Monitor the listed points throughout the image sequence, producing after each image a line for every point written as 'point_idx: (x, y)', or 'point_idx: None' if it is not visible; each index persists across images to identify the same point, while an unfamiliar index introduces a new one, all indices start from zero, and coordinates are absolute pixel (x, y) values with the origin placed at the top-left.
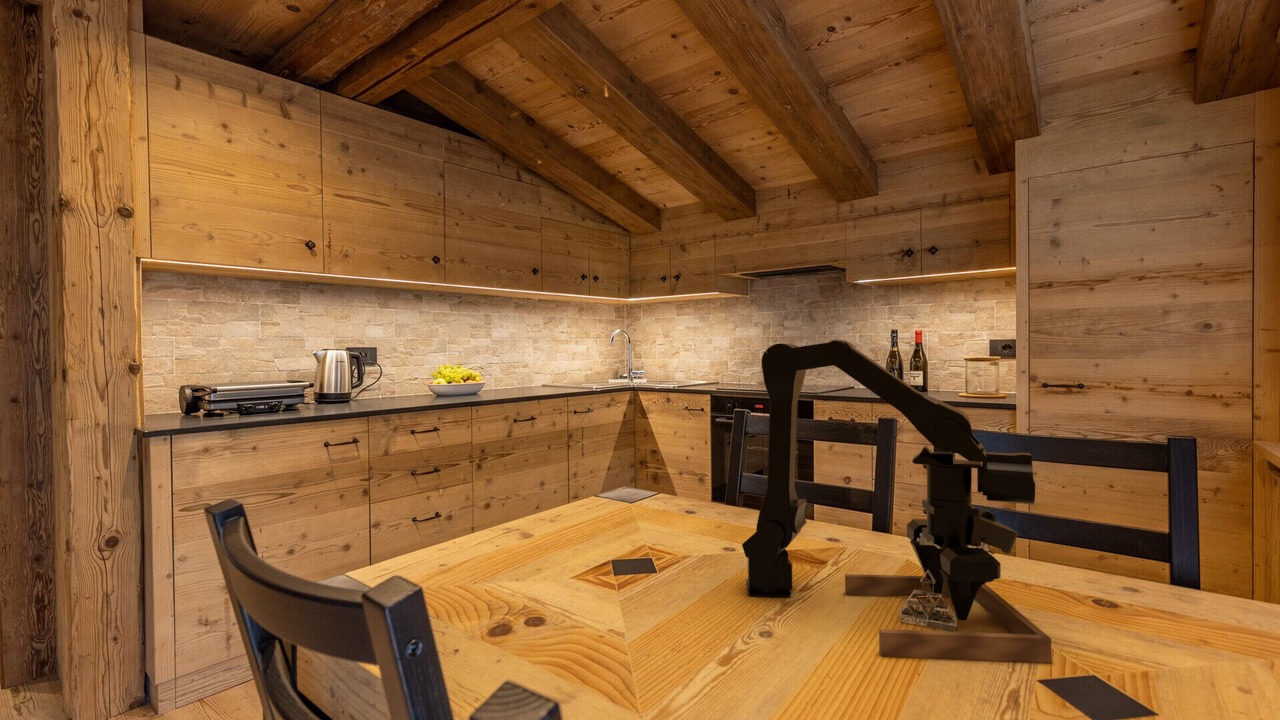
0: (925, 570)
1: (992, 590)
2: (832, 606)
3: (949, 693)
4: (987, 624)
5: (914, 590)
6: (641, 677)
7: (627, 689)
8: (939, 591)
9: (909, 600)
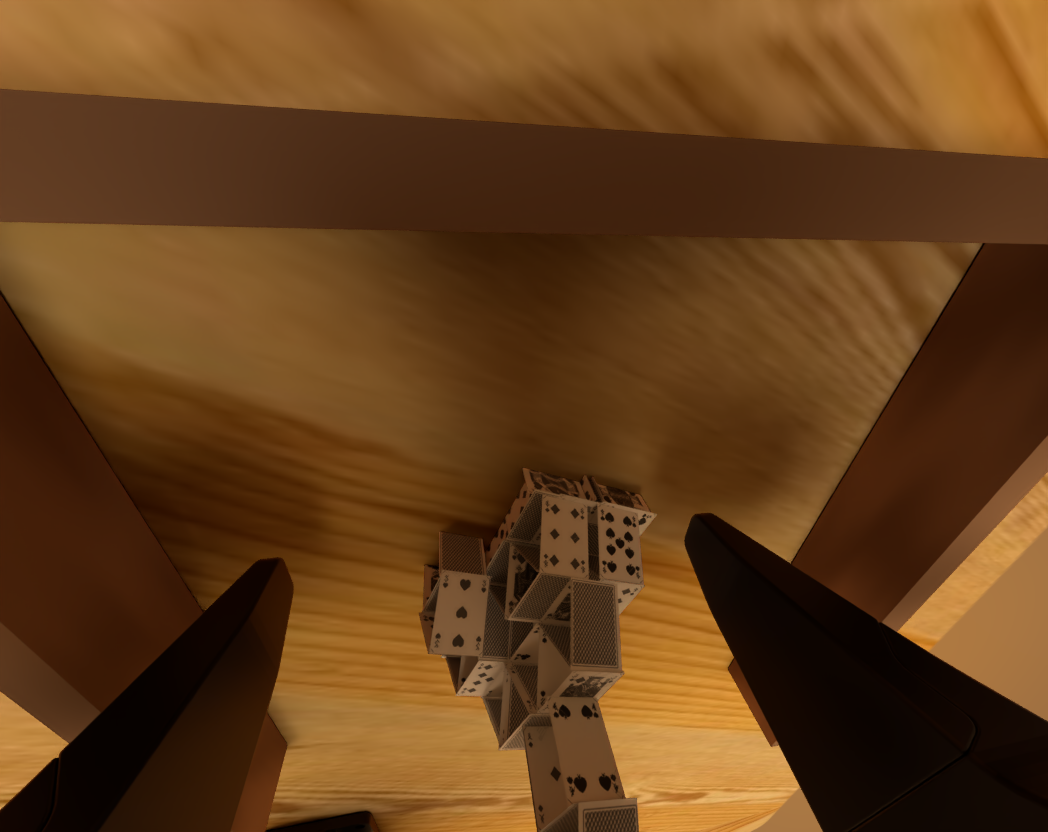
0: (226, 830)
1: (117, 113)
2: (414, 752)
3: (952, 574)
4: (550, 307)
5: (510, 748)
6: (712, 824)
7: (736, 822)
8: (279, 581)
9: (494, 692)
